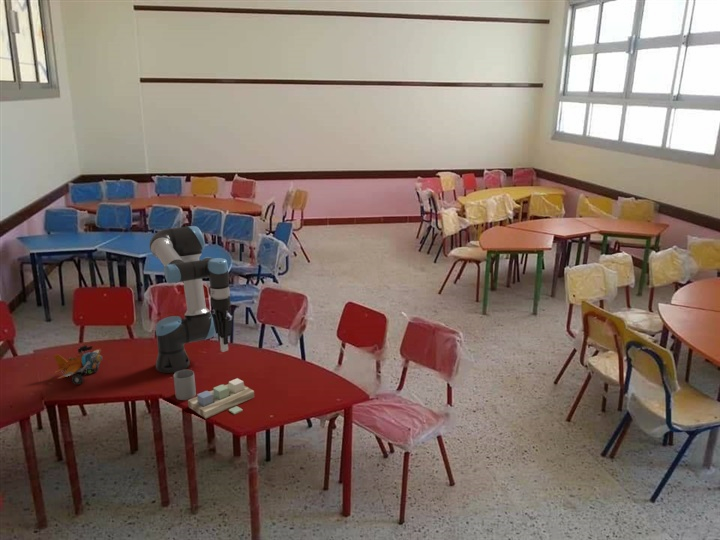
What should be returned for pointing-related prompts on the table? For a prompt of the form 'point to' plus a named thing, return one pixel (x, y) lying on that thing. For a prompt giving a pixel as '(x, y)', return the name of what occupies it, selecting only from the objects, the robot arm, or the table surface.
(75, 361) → the toy airplane
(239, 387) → the button cream
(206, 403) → the button blue
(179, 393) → the cup
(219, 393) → the button sage
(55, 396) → the table surface
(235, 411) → the tile
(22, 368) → the table surface
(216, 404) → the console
